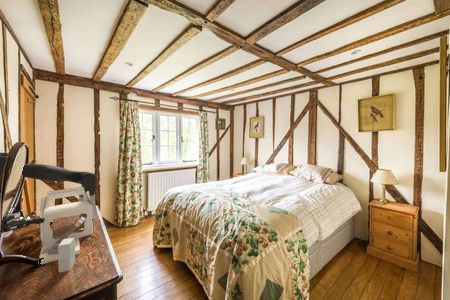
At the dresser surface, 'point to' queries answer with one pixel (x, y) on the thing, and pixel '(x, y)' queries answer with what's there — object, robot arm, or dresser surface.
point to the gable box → (65, 215)
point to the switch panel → (55, 256)
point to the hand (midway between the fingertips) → (43, 220)
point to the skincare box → (66, 254)
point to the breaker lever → (72, 229)
